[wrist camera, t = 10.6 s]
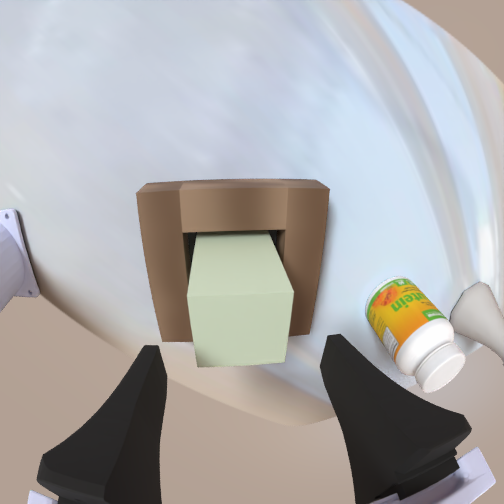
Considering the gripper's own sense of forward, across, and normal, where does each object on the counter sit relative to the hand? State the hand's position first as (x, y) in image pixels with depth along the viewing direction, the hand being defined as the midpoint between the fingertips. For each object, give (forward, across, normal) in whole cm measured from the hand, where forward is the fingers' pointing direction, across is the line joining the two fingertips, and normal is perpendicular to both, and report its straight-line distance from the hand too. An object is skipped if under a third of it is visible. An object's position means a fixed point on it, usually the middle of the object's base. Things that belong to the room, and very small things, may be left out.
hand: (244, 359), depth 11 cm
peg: (+10, 0, 0) cm, 10 cm away
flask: (+10, -28, +8) cm, 31 cm away
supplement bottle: (+10, -14, +5) cm, 18 cm away
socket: (+10, 0, 0) cm, 10 cm away
